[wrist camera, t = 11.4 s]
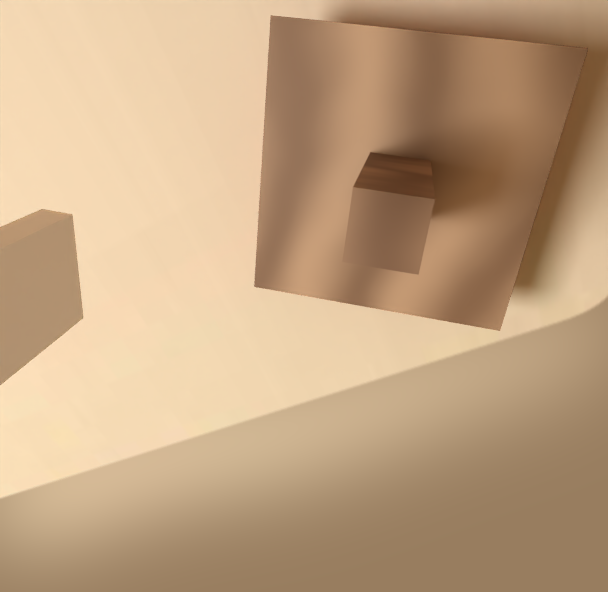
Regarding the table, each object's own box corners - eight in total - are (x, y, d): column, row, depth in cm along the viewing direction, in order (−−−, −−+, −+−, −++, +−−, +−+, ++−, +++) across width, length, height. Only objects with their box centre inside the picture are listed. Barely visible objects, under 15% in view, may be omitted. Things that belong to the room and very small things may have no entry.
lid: (258, 280, 33) (207, 352, 25) (275, 16, 26) (213, 0, 18) (497, 322, 31) (524, 416, 23) (582, 48, 24) (662, 45, 16)
